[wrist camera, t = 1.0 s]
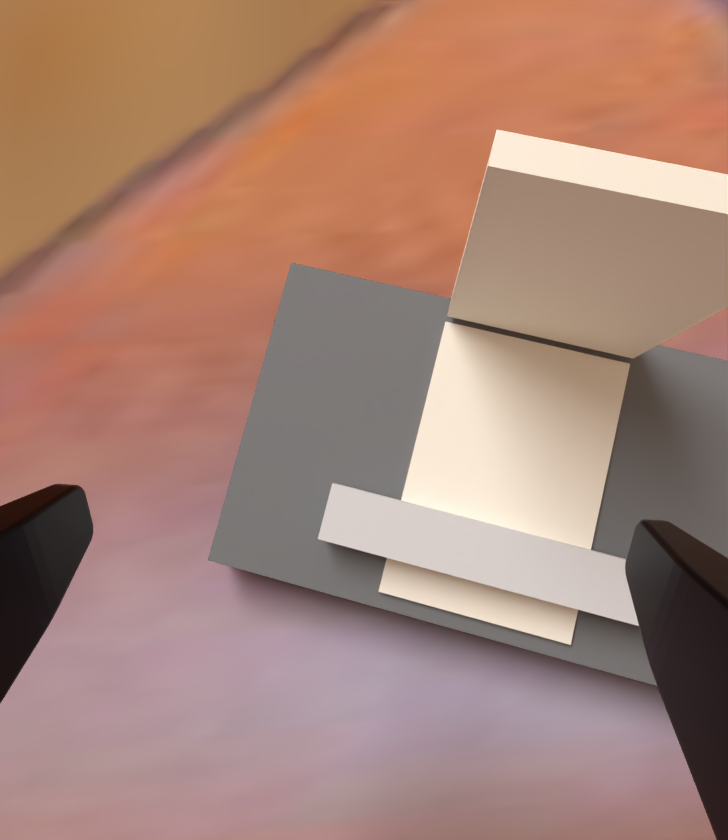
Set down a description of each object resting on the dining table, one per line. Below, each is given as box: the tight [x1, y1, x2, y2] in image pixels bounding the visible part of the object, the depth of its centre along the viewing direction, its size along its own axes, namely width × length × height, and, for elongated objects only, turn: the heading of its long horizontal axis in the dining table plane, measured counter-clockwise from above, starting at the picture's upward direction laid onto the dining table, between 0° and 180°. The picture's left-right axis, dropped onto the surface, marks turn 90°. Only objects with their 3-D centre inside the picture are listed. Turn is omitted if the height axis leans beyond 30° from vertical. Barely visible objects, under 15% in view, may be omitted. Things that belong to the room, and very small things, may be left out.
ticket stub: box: [447, 130, 728, 359], centre depth 16 cm, size 1×7×10 cm, turn 76°
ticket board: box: [208, 263, 728, 686], centre depth 21 cm, size 12×20×3 cm, turn 76°
